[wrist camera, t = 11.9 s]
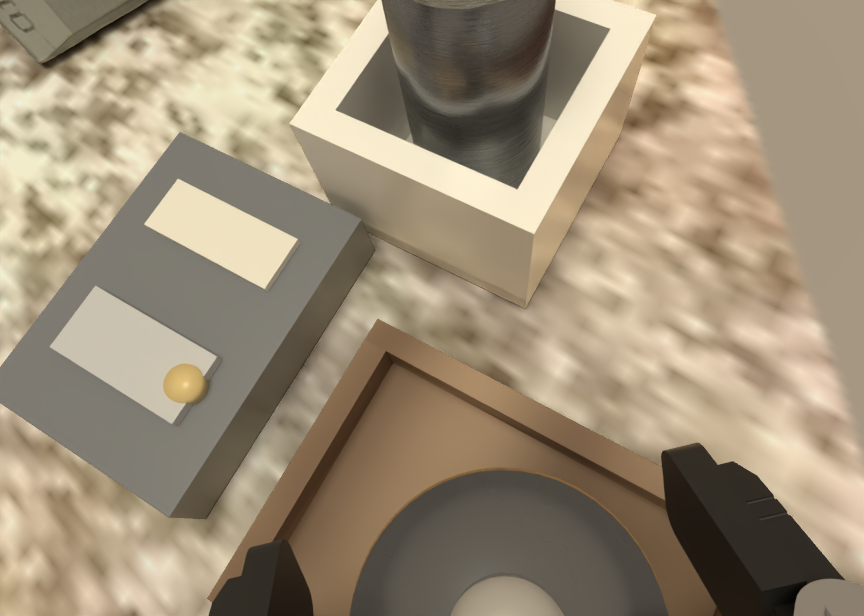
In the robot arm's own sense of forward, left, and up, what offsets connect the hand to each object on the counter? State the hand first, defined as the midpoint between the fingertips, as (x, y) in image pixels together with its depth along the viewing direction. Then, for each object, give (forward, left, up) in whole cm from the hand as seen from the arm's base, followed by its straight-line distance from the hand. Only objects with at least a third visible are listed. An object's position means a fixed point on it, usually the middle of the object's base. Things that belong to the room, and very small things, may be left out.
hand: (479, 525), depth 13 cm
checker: (-12, +1, -7) cm, 14 cm away
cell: (+1, -1, -7) cm, 7 cm away
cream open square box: (-6, +11, -7) cm, 15 cm away
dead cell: (-6, +11, -6) cm, 14 cm away
